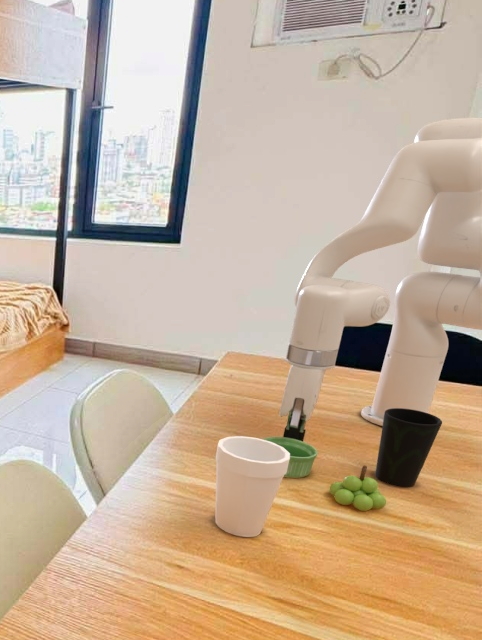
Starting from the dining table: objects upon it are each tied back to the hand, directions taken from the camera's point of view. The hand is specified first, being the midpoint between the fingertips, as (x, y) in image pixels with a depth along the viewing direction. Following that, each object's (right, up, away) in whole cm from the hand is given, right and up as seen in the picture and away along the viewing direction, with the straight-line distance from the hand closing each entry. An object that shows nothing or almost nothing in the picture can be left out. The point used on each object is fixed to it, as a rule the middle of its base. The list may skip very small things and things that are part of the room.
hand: (291, 448), depth 118 cm
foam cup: (-22, -10, -22) cm, 33 cm away
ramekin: (-4, -3, -4) cm, 7 cm away
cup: (+13, -5, -9) cm, 16 cm away
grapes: (+1, -7, -16) cm, 17 cm away
